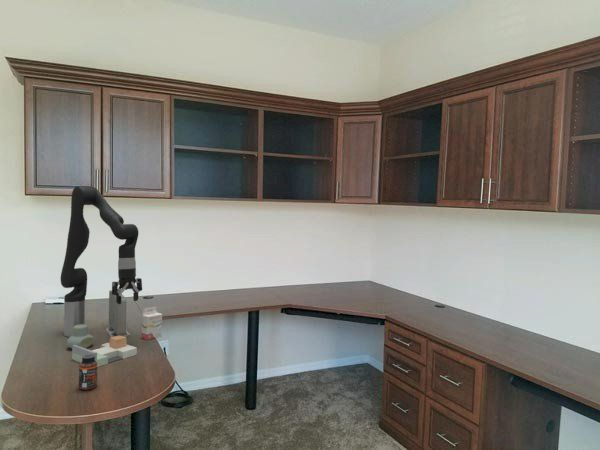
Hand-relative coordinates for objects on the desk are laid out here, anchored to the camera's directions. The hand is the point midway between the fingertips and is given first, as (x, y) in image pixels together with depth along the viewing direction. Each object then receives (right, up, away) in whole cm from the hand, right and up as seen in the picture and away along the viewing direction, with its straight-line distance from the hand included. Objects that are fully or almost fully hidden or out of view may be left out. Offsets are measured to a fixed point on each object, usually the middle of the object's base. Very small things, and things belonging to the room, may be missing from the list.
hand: (127, 302), depth 196 cm
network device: (-14, -20, +23) cm, 33 cm away
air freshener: (-21, -21, -2) cm, 29 cm away
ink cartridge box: (+6, -21, +16) cm, 27 cm away
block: (-1, -18, -8) cm, 20 cm away
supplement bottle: (+3, -23, -43) cm, 49 cm away
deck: (-4, -21, -13) cm, 25 cm away
